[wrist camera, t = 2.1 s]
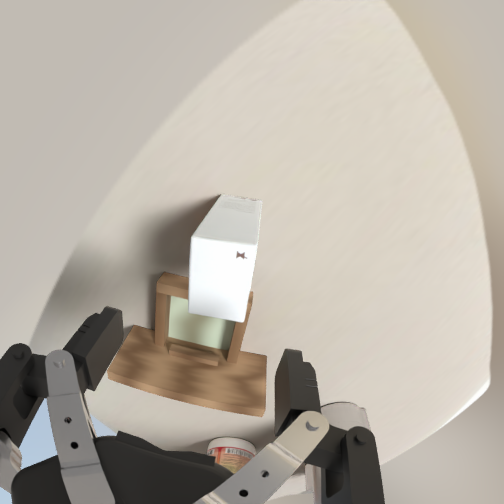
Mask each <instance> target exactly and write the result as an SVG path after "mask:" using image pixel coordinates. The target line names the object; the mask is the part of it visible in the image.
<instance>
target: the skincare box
mask: <svg viewBox="0 0 504 504" xmlns="http://www.w3.org/2000/svg"><path fill="white" fill-rule="evenodd" d="M261 210H262V200H258V199H252V198H245V197H238V196H231V195H225V194H222V195H221V196H220V197H219V198H218V200H217V201H216V203H215V204H214V205H213V207H212V208H211V209H210V211H209V212H208V214H207V215H206V216H205V218H204V219H203V221H202V222H201V223H200V225H199V226H198V228H197V229H196V231H195V232H194V234H193V235H192V236H191V243H190V256H189V289H188V313H192V314H198V315H203V316H209V317H214V318H220V319H225V320H231V321H236V322H241V323H242V322H244V320H245V315H246V309H247V303H248V298H249V293H250V289H251V282H252V276H253V271H254V265H255V259H256V252H257V246H258V239H259V228H260V218H261Z"/></svg>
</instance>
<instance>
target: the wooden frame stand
mask: <svg viewBox="0 0 504 504" xmlns="http://www.w3.org/2000/svg"><path fill="white" fill-rule="evenodd" d="M188 289H189V278H187V277H183V276H179V275H175V274H170V273H166V272H164V273H163V274H162V276H161V277H160V278H159V280H158V281H157V287H156V310H155V331H154V330H150V329H147V328H143V327H140V326H137V325H134V326H133V328H132V329H131V331H130V333H129V334H128V336H127V338H126V339H125V341H124V343H123V344H122V346H121V348H120V349H119V351H118V353H117V355H116V356H115V358H114V360H113V361H112V363H111V365H110V367H109V368H108V370H107V373H108V378H109V379H110V380H113V381H116V382H119V383H121V384H124V385H127V386H130V387H133V388H136V389H140V390H143V391H146V392H149V393H153V394H156V395H159V396H163V397H167V398H170V399H174V400H178V401H182V402H186V403H190V404H194V405H199V406H203V407H208V408H212V409H217V410H222V411H228V412H233V413H239V414H245V415H251V416H258V417H262V416H263V414H264V412H265V407H266V364H267V356H265V355H259V354H253V353H248V352H243V351H240V348H241V344H242V340H243V337H244V333H245V329H246V325H247V322H248V318H249V314H250V310H251V306H252V299H253V292H250V293H249V298H248V303H247V309H246V315H245V320H244V322H242V323H241V322H236V321H231V320H225V319H220V318H214V317H209V316H203V315H198V314H192V313H188Z"/></svg>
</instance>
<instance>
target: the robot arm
mask: <svg viewBox="0 0 504 504" xmlns="http://www.w3.org/2000/svg"><path fill="white" fill-rule="evenodd" d="M122 341H123V320H122V311H121V310H118V309H115V308H112V307H109V306H107V307H105V308H104V310H103V311H102V312H101V314H97V313H95V314H93V315H91V316H90V317H88V318H87V319H86V320H85V321H84V323H83V324H82V326H80V328H79V329H78V331H77V332H76V333H75V334H74V335H73V337H72V338H71V339H70V340H69V342H68V343H67V344H66V346H65V347H64V348H63V349H62V350H55V351H52V352H51V353H49V354H48V355H47V356H44V355H37V354H32V352H31V349H30V348H29V347H28V346H27V345H25V344H22V343H19V344H14V345H12V346H11V347H10V348H9V349H8V350H7V351H6V353H5V354H4V356H3V357H2V358H1V359H0V487H2V488H3V489H4V490H6V491H7V492H9V493H10V494H11V497H12V504H263V503H265V502H266V501H267V500H268V499H269V498H270V497H271V496H272V495H273V494H274V493H275V492H276V491H277V490H278V489H279V488H280V487H281V486H282V485H283V484H284V482H285V481H286V480H287V479H288V478H289V477H290V476H291V475H292V474H293V473H294V472H295V471H296V469H297V468H298V467H299V466H300V465H301V464H302V462H304V463H307V464H310V465H311V467H312V481H313V494H314V504H385V501H384V494H383V486H382V479H381V472H380V465H379V459H378V453H377V447H376V442H375V437H374V435H373V433H372V432H371V429H370V425H369V421H368V417H367V414H366V410H365V409H362V408H359V407H358V406H357V405H355V404H352V403H344V402H343V403H334V404H330V405H326V406H324V407H320V400H319V393H318V388H317V381H316V373H315V370H314V368H313V367H312V365H311V364H310V363H309V362H303V358H302V352H301V351H299V350H292V349H285V351H284V353H283V356H282V358H281V361H280V363H279V366H278V368H277V371H276V375H275V436H277V437H278V438H277V439H276V440H275V441H274V442H270V443H269V444H268V445H267V446H266V447H264V448H263V449H262V450H261V451H260V452H259V453H258V454H257V455H256V456H255V457H253V458H252V459H251V460H250V461H249V462H248V463H247V464H245V465H244V466H243V467H242V468H241V469H240V470H238V471H237V472H236V473H235V474H234V473H232V472H231V471H230V470H229V469H227V468H226V467H224V466H222V465H220V464H218V463H215V459H216V457H215V456H210V455H205V454H200V453H195V452H182V451H165V450H162V449H160V448H158V447H156V446H154V445H152V444H151V443H149V442H147V441H145V440H144V439H142V438H139V437H136V436H133V435H130V434H127V433H124V432H121V431H118V434H117V436H101V437H97V435H96V432H95V430H94V427H93V424H92V420H91V417H90V413H89V410H88V406H87V403H86V399H85V395H84V393H85V391H86V389H90V390H92V391H95V389H96V388H97V386H98V384H99V382H100V380H101V379H102V377H103V375H104V373H105V372H106V370H107V368H108V366H109V365H110V363H111V361H112V359H113V358H114V356H115V354H116V353H117V351H118V349H119V348H120V346H121V344H122ZM44 398H47V405H48V411H49V416H50V422H51V427H52V432H53V437H54V441H55V445H56V450H57V454H58V455H56V456H53V457H51V458H49V459H46V460H44V461H41V462H39V463H36V464H34V465H31V466H29V467H26V468H24V469H22V470H21V468H20V467H21V460H22V455H21V452H20V450H19V447H20V445H21V443H22V440H23V438H24V436H25V434H26V432H27V430H28V428H29V426H30V424H31V422H32V420H33V418H34V416H35V414H36V413H37V411H38V409H39V407H40V405H41V403H42V402H43V400H44Z"/></svg>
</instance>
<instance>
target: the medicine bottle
mask: <svg viewBox="0 0 504 504" xmlns="http://www.w3.org/2000/svg"><path fill="white" fill-rule="evenodd" d="M305 478H306V491H313V481H312V467H311V465H310V464H307V465H305Z"/></svg>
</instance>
